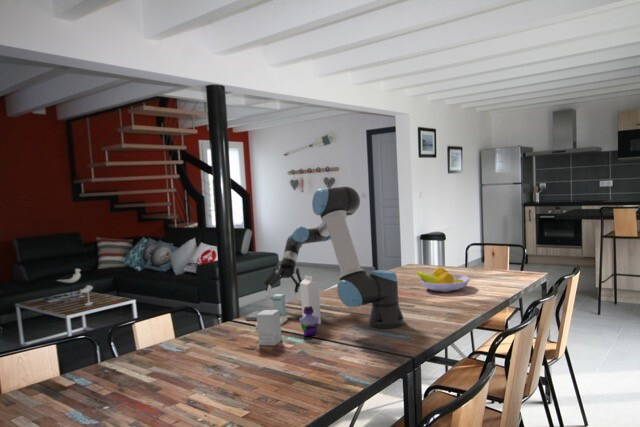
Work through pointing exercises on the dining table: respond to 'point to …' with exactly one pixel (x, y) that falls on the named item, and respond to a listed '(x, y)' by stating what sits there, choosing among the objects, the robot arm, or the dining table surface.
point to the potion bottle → (309, 322)
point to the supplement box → (269, 327)
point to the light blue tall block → (279, 303)
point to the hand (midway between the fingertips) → (280, 297)
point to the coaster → (252, 315)
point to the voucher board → (282, 319)
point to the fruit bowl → (443, 280)
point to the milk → (310, 296)
